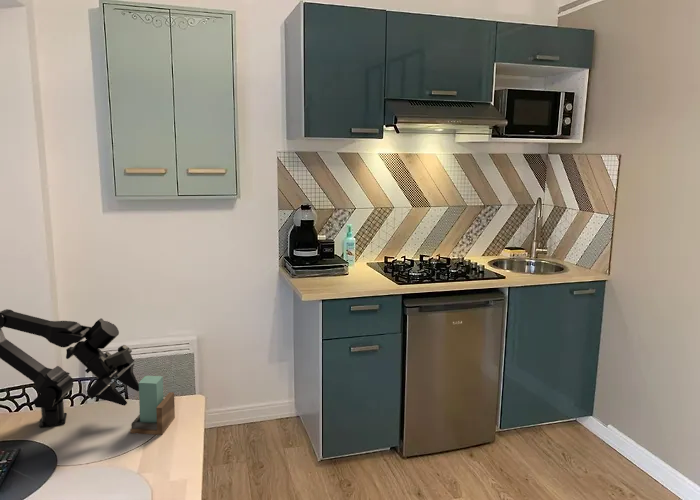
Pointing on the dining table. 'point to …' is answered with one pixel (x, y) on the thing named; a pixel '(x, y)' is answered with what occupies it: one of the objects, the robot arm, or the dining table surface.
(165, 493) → the dining table surface
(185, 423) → the dining table surface
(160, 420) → the wall board cradle
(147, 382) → the teal block
